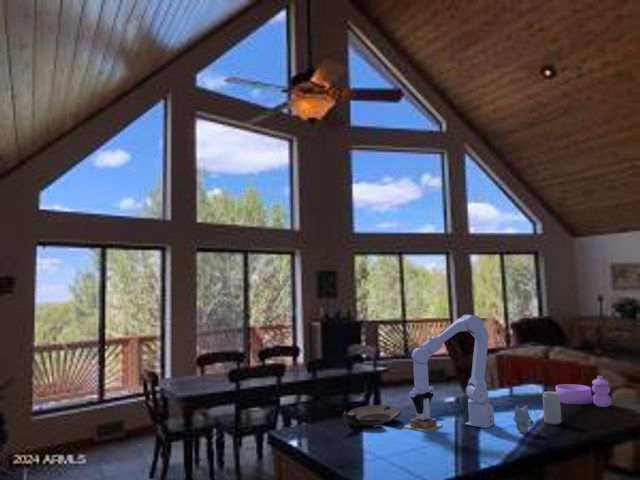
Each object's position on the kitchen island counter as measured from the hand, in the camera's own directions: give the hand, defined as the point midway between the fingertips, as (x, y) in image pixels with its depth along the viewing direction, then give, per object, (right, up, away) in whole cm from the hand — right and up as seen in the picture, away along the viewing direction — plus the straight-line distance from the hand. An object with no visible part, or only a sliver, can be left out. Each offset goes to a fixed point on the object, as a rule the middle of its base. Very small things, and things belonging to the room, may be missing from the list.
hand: (422, 412), depth 215 cm
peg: (0, -3, 0) cm, 3 cm away
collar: (0, -6, -1) cm, 6 cm away
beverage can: (+53, -4, 0) cm, 53 cm away
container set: (+82, -7, +33) cm, 88 cm away
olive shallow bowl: (-21, -8, +8) cm, 24 cm away
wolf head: (+36, -4, -14) cm, 39 cm away
